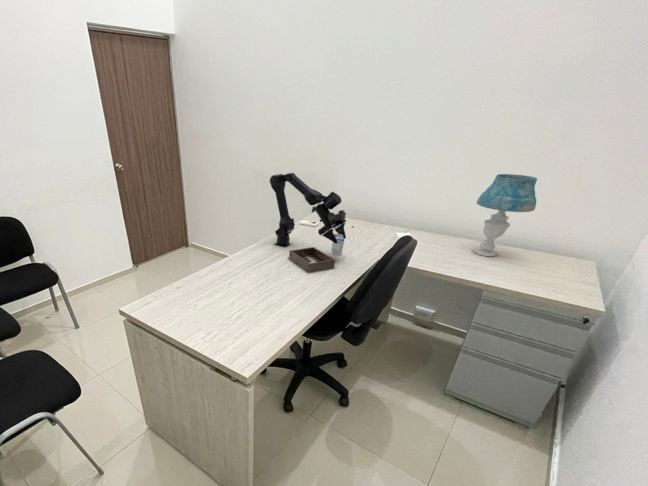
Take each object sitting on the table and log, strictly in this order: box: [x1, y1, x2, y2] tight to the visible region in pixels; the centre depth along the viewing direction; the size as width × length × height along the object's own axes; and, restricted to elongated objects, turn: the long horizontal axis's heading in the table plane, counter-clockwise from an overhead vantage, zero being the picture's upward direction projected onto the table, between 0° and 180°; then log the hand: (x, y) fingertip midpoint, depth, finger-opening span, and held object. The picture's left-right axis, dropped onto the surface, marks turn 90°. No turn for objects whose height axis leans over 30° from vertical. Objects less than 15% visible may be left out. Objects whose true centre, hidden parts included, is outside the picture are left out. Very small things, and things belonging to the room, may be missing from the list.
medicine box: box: [331, 233, 345, 256], centre depth 167 cm, size 8×4×9 cm, turn 169°
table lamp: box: [473, 173, 538, 257], centre depth 169 cm, size 24×24×40 cm
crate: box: [288, 246, 336, 273], centre depth 167 cm, size 19×15×4 cm
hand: (340, 240), depth 165 cm, fingers closed on medicine box, 9 cm apart
